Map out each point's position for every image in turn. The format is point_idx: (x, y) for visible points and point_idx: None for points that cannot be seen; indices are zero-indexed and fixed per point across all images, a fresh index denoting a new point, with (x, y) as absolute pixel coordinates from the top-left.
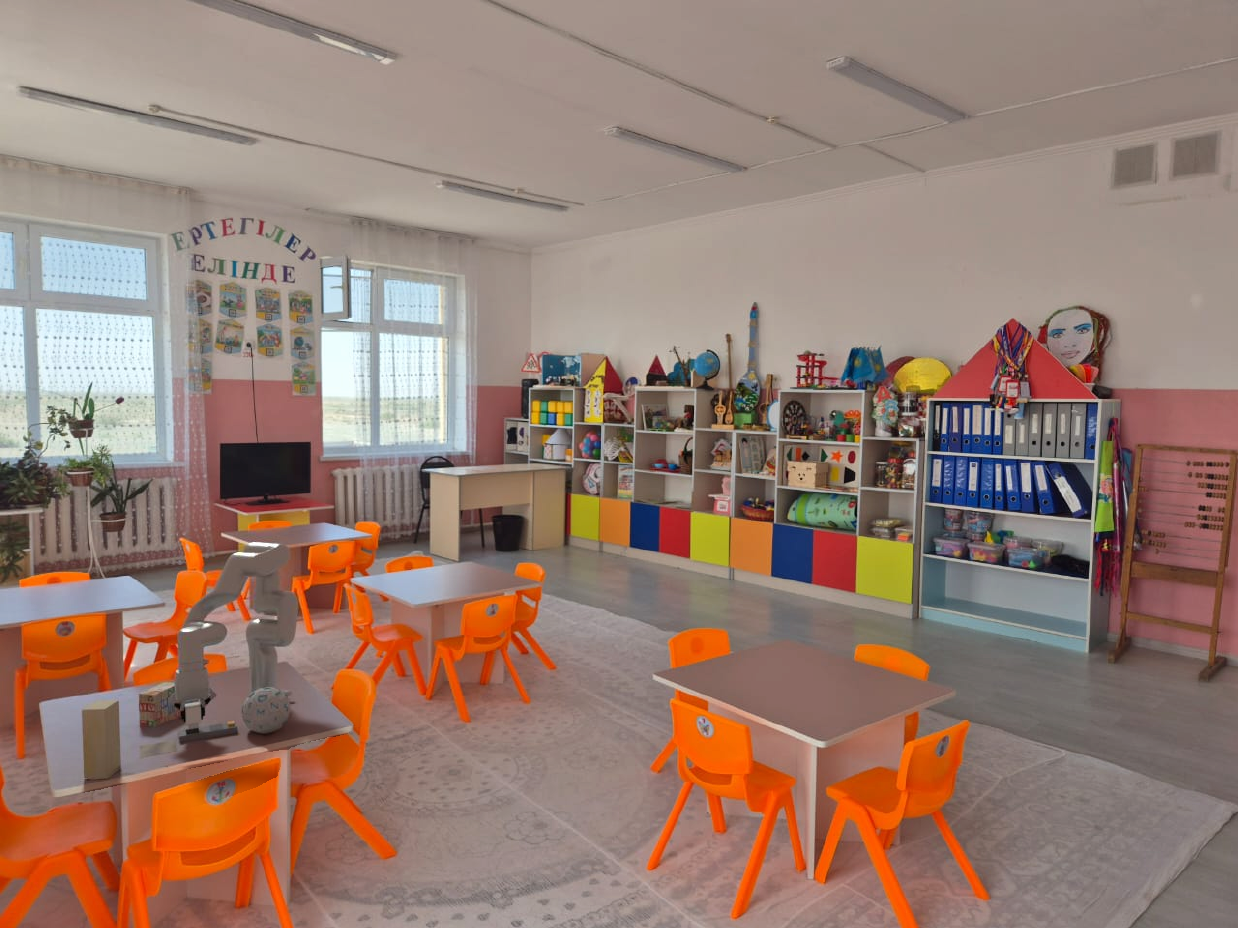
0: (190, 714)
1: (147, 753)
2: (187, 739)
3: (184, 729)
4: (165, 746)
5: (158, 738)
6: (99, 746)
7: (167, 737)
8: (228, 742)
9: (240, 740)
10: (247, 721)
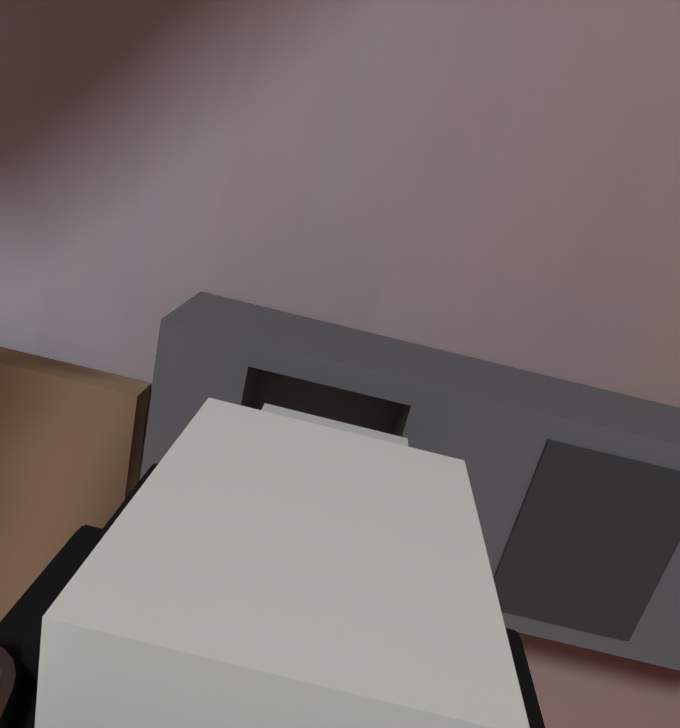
0: None
1: None
2: None
3: (240, 343)
4: (24, 500)
5: (3, 91)
6: None
7: (103, 136)
8: (559, 698)
9: (661, 725)
10: None
